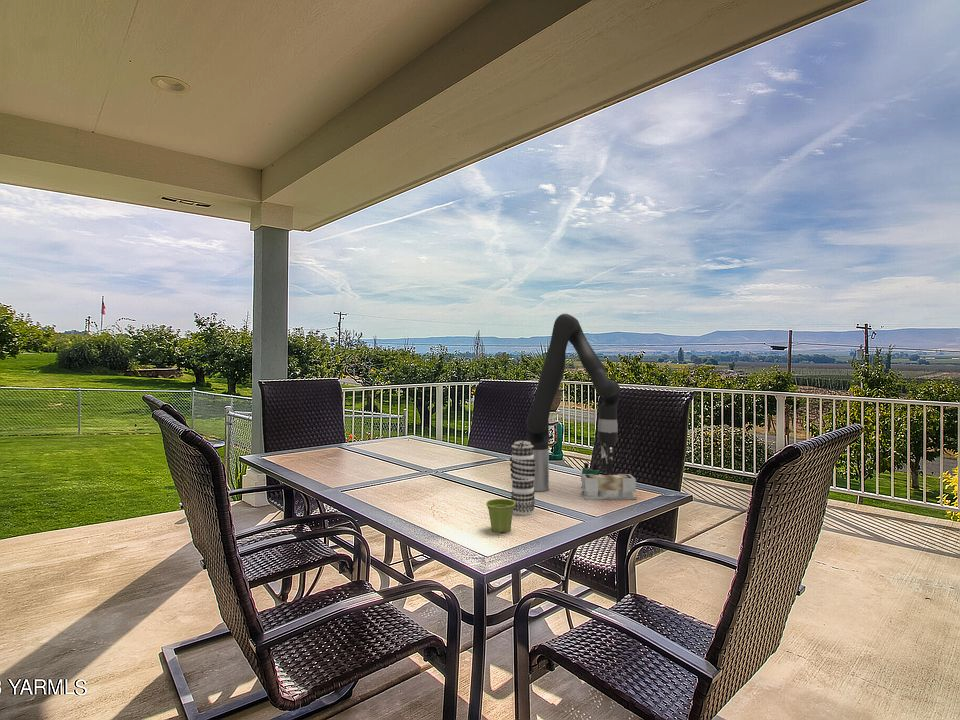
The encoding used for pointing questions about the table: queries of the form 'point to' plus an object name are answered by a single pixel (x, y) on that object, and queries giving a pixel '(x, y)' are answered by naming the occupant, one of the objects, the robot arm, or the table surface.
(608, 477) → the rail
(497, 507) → the plant pot
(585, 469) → the binoculars
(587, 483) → the cup bracket
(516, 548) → the table surface
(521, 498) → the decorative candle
